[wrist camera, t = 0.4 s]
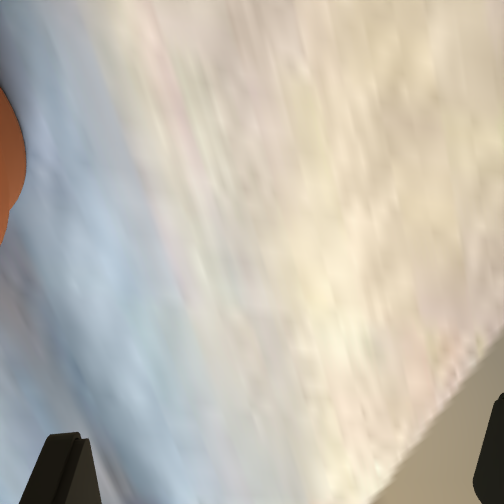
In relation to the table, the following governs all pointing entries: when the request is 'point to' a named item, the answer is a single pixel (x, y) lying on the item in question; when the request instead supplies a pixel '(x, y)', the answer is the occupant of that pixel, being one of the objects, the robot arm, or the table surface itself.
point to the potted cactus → (10, 161)
